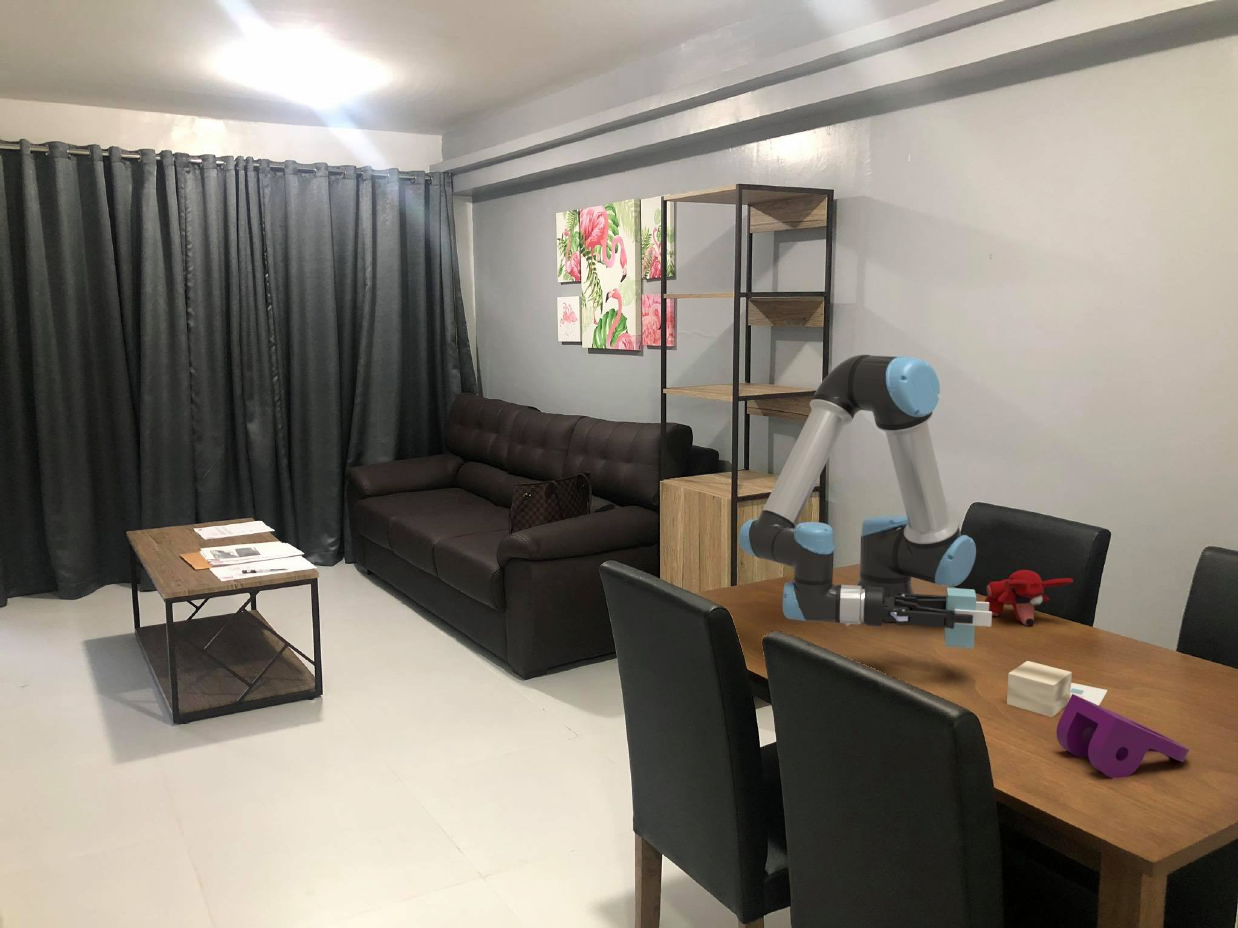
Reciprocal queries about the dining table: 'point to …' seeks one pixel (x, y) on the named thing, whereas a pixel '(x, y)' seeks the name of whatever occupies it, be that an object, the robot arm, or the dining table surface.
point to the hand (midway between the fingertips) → (989, 614)
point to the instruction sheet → (1088, 693)
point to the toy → (1020, 594)
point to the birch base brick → (1039, 688)
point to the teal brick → (960, 633)
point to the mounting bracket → (1110, 738)
